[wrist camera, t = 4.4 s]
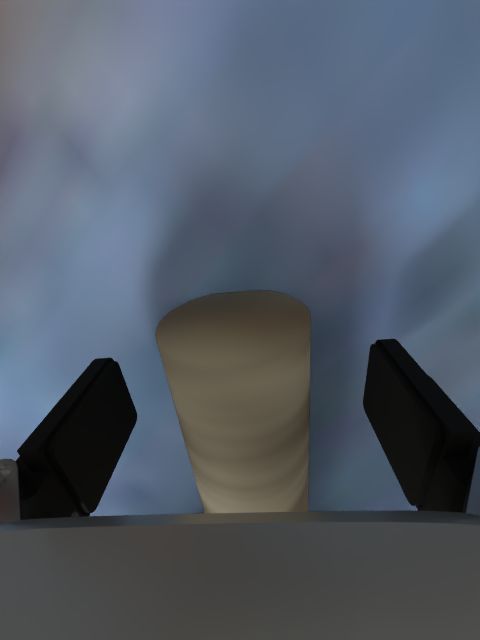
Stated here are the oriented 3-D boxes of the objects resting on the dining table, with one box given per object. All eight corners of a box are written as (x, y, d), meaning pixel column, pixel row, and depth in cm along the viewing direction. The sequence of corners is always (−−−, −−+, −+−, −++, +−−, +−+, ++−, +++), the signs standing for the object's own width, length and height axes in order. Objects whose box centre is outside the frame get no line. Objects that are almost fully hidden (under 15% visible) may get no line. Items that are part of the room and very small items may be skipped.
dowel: (299, 500, 17) (316, 607, 13) (222, 502, 18) (213, 607, 13) (297, 285, 11) (329, 356, 7) (175, 295, 11) (130, 369, 7)
